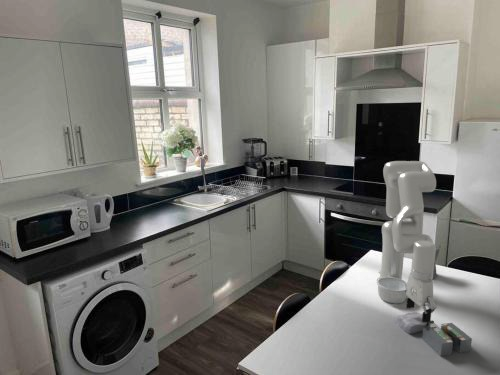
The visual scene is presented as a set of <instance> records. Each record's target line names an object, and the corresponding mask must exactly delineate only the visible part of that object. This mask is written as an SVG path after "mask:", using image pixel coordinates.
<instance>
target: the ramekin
mask: <svg viewBox="0 0 500 375" xmlns="http://www.w3.org/2000/svg"><path fill="white" fill-rule="evenodd" d="M407 282H408V281H405V280H403V279H399V278H395V277H382V278H380V279H379V280H378V282H377V281H376V285H377V293H378V297H380V299H381V300H382V301H384V302H387V303H389V304H390V303H391V304H401V303H403V302H405V301H406V300H407V298H406V292H405V291H406V289H405V284H407Z"/></svg>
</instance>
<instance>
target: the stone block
mask: <svg viewBox="0 0 500 375" xmlns="http://www.w3.org/2000/svg"><path fill="white" fill-rule="evenodd" d="M422 315H423V313H420V312H418V311H411V312H407V313H405V314H404V313H403V314H397V315H395V320H394V322H395V324H396V325H397V327H399V328H401V329H402V331H404V332H405V333H407V334H409V335H410V334H416V333H420V332H423V327H426V326H427V322H422ZM430 321H432V319H431V320H430Z"/></svg>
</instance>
